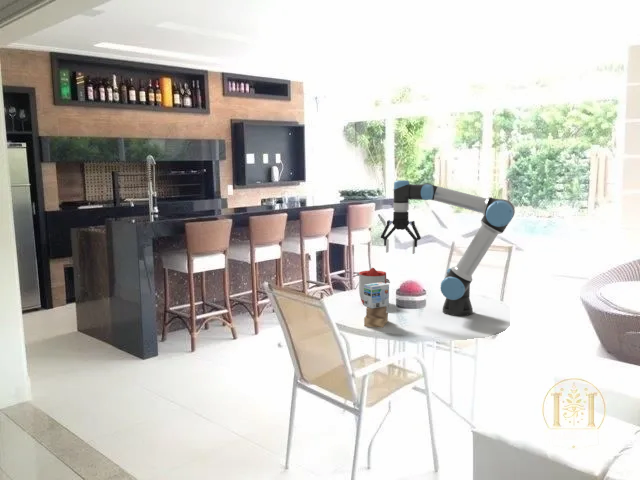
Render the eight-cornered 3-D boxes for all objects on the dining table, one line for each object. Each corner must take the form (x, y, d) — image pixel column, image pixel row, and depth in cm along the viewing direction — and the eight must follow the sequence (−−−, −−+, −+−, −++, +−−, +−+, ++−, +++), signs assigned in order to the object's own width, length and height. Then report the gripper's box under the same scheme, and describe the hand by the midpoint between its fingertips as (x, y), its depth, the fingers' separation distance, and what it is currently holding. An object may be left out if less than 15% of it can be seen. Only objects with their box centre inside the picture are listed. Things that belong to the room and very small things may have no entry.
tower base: (387, 321, 288) (387, 312, 287) (382, 328, 277) (382, 319, 276) (369, 320, 291) (369, 311, 290) (364, 326, 279) (364, 317, 279)
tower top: (386, 312, 288) (386, 303, 288) (385, 318, 276) (385, 309, 276) (368, 311, 290) (368, 302, 289) (366, 318, 278) (366, 308, 277)
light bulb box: (371, 309, 277) (371, 286, 275) (363, 306, 282) (363, 284, 281) (389, 306, 282) (389, 284, 281) (381, 303, 288) (381, 281, 286)
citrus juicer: (389, 307, 315) (389, 270, 313) (357, 305, 318) (357, 269, 316) (390, 300, 331) (390, 265, 328) (359, 299, 333) (359, 264, 331)
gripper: (427, 211, 294) (426, 252, 297) (378, 210, 302) (378, 250, 305) (424, 212, 287) (423, 255, 290) (375, 211, 295) (374, 252, 298)
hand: (400, 252), depth 297 cm, fingers open, 13 cm apart
